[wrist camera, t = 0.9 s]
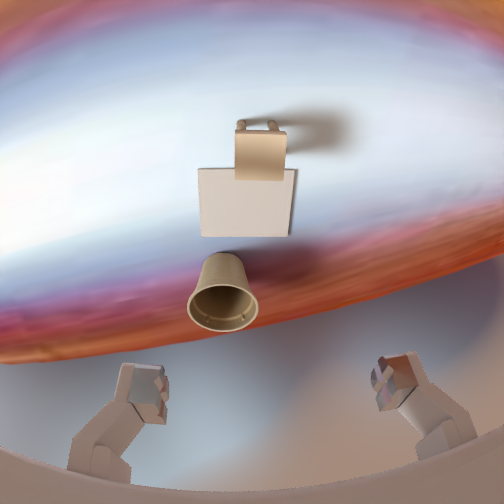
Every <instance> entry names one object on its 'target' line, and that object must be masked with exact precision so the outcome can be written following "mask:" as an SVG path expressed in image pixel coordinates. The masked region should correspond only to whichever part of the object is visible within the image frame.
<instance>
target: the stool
mask: <svg viewBox="0 0 504 504" xmlns="http://www.w3.org/2000/svg"><path fill="white" fill-rule="evenodd" d="M267 125H268V128H269V130H246V125H245V121H244V120H238V121H237V130H235V180H256V181H283V179H284V167H285V156H286V144H287V134H286V132H285V131H280V130H279V128H278V127H277V125H276V123H275V122H274V121H269V122H268V124H267Z"/></svg>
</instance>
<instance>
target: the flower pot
mask: <svg viewBox="0 0 504 504" xmlns="http://www.w3.org/2000/svg"><path fill="white" fill-rule="evenodd" d="M187 310H188V314H189V316H190V317H191V319H192V320H193V321H194V322H195V323H197V324H198V325H200V326H201V327H203V328H206V329H209V330H212V331H219V332H229V331H235V330H239V329H242V328H244V327H246V326H247V325H249V324H250V323H251V322H252V321H253V320H254V319H255V318H256V316H257V314H258V310H259V306H258V302H257V299H256V297H255V296H254V295H253V293H252V291H251V290H250V288H249V284H248V281H247V277H246V273H245V270H244V266H243V263H242V261H241V260H240V259H239V258H238V257H237V256H235V255H233V254H231V253H215V254H213V255H211V256H209V257H208V258H207V259H206V260H205V261H204V263H203V266H202V270H201V274H200V277H199V281H198V284H197V287H196V289H195V291H194V292H193V294H192V295H191V296H190V298H189V300H188V304H187Z"/></svg>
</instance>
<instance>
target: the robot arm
mask: <svg viewBox="0 0 504 504" xmlns="http://www.w3.org/2000/svg"><path fill="white" fill-rule="evenodd" d="M164 374H165V369H164V367H163V366H161V365H144V364H135V363H123V364H122V366H121V369H120V373H119V378H118V382H117V386H116V391H115V396H114V401H109V402H108V403H107V404H106V405H105V406H104V407H103V408H102V409H101V410H100V411H99V412H98V413H97V414H96V415H95V416H94V417H93V418H92V419H91V420H90V421H89V422H88V424H86V426H84V428H83V429H82V430H81V431H80V432H79V433H78V434H77V435H76V436H75V437H74V438H73V439H72V444H71V450H70V454H69V460H68V465H67V470H66V469H62V468H59V467H56V466H52V465H49V464H46V463H43V462H40V461H37V460H35V459H32V458H29V457H26V456H24V455H21V454H18V453H16V452H13V451H11V450H8V449H6V448H4V447H1V446H0V504H504V424H503V425H502V426H500V427H498V428H496V429H494V430H492V431H490V432H488V433H486V434H484V435H482V436H479V437H478V436H477V433H476V430H475V428H474V425H473V423H472V420H471V417H470V415H469V412H468V411H466V410H465V409H464V408H463V407H462V406H460V405H459V404H458V403H457V402H456V401H454V400H453V399H452V398H451V397H449V396H448V395H447V394H446V393H444V392H443V391H442V390H441V389H439V388H438V387H437V386H436V385H434V384H433V383H429V380H428V378H427V376H426V373H425V371H424V369H423V366H422V364H421V362H420V359H419V357H418V355H417V353H416V352H415V351H411V352H404V353H397V354H392V355H386V356H382V357H380V358H379V360H378V365H377V366H375V367H374V368H373V370H372V372H371V384H372V388H373V389H374V390H375V391H376V392H377V393H378V394H377V396H376V401H377V404H378V407H379V411H380V412H381V411H386V410H391V409H397V408H398V411H400V413H401V414H402V415H403V416H404V417H405V418H406V419H407V420H408V421H409V422H410V423H411V424H412V425H413V426H414V427H415V428H416V430H418V432H419V433H420V434H421V435H422V436H423V437H424V438H423V439H422V440H421V441H419V442H418V443H417V444H416V446H415V449H416V453H417V456H418V460H419V461H417V462H414V463H411V464H407V465H404V466H401V467H397V468H394V469H390V470H387V471H383V472H379V473H375V474H371V475H367V476H363V477H359V478H354V479H349V480H344V481H339V482H333V483H328V484H321V485H314V486H307V487H300V488H291V489H280V490H266V491H247V492H246V491H244V492H210V491H209V492H208V491H188V490H175V489H164V488H155V487H148V486H140V485H134V484H130V479H131V467H130V466H129V464H128V463H126V462H125V461H124V460H123V459H122V458H120V456H121V455H122V453H123V452H124V451H125V450H126V448H127V447H128V446H129V444H130V443H131V442H132V441H133V439H134V438H135V437H136V435H137V434H138V433H139V431H140V430H141V429H142V427H143V426H144V423H148V424H162V425H166V418H167V408H166V405H165V402H166V401H167V400H168V399H169V382H168V378H167V376H165V375H164Z"/></svg>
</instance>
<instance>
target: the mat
mask: <svg viewBox="0 0 504 504" xmlns="http://www.w3.org/2000/svg"><path fill="white" fill-rule="evenodd" d="M294 172H295V170H292V169H284V179H283V181H256V180H235V168H212V169H198V187H199V206H200V222H201V237H287V235H288V227H289V218H290V209H291V200H292V191H293V182H294Z"/></svg>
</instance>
